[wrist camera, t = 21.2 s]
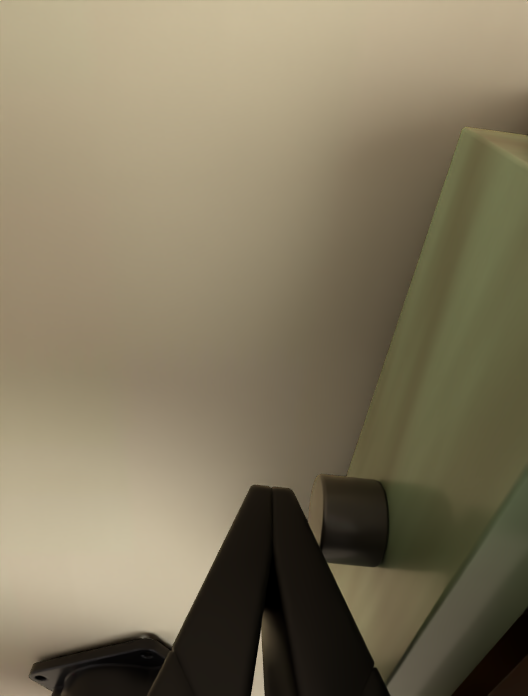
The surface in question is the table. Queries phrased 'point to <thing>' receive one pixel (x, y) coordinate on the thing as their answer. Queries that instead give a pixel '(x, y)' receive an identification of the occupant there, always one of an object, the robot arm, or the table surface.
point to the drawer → (446, 448)
